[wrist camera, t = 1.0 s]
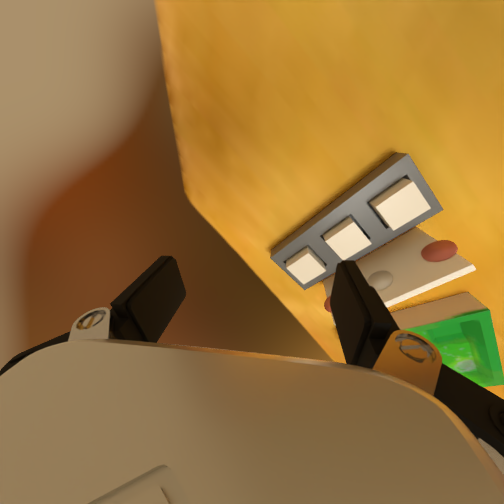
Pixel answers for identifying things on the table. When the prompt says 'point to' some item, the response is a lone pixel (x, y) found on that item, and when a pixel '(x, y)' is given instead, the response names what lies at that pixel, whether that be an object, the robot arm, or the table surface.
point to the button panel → (380, 240)
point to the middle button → (346, 238)
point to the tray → (458, 335)
